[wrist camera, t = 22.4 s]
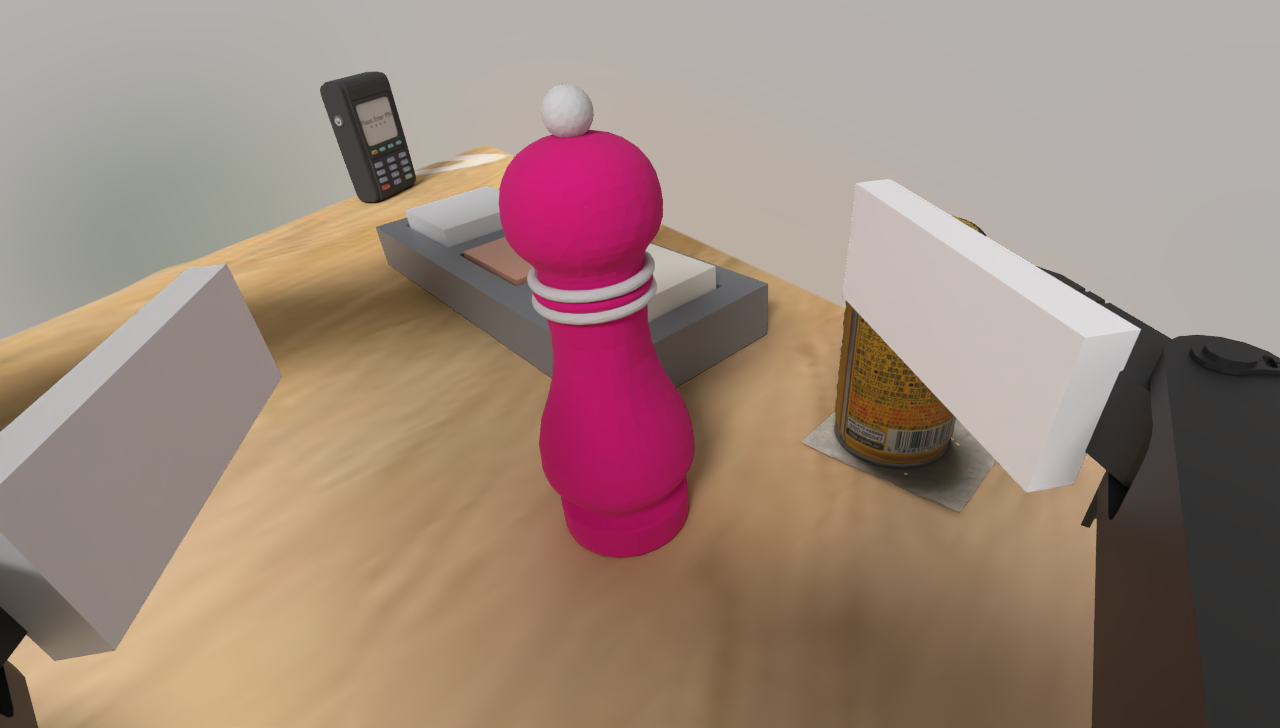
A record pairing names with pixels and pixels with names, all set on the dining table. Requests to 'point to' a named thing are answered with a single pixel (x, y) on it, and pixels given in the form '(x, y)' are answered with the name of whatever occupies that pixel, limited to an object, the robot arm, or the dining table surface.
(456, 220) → the key grey
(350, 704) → the dining table surface
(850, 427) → the condiment
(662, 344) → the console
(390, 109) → the card reader
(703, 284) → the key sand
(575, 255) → the pepper mill
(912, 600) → the dining table surface
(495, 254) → the key terracotta
